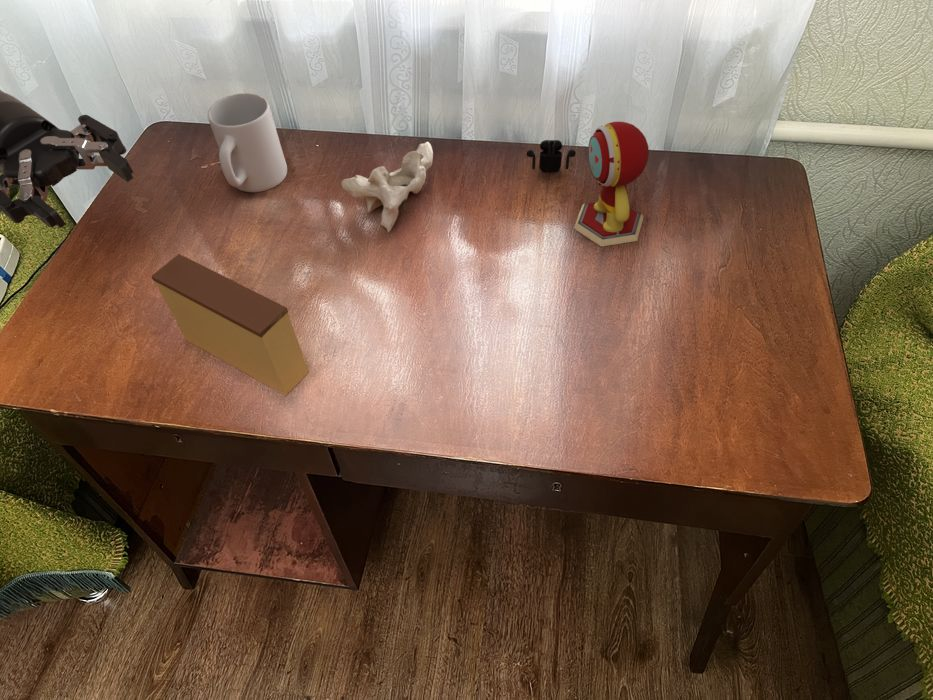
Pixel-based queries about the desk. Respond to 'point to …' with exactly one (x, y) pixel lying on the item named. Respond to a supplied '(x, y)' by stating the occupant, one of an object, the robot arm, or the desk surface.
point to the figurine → (614, 184)
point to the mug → (247, 142)
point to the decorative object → (392, 184)
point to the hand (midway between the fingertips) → (94, 196)
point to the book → (233, 323)
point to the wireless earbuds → (550, 156)
